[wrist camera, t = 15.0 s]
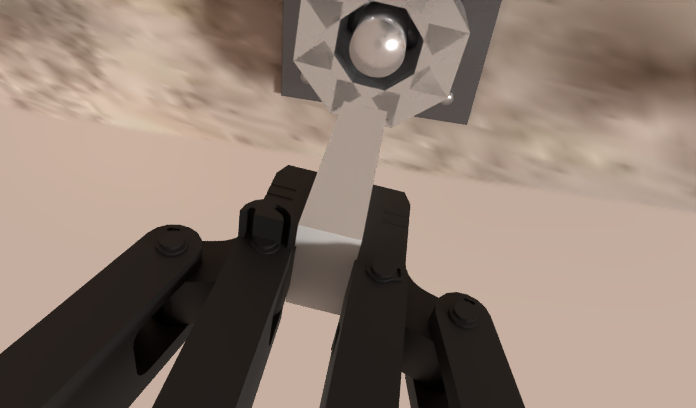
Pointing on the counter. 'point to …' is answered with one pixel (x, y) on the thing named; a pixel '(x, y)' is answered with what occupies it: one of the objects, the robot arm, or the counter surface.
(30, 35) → the counter surface
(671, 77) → the counter surface
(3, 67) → the counter surface
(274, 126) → the counter surface
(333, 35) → the octagonal ball socket
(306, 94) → the hub
